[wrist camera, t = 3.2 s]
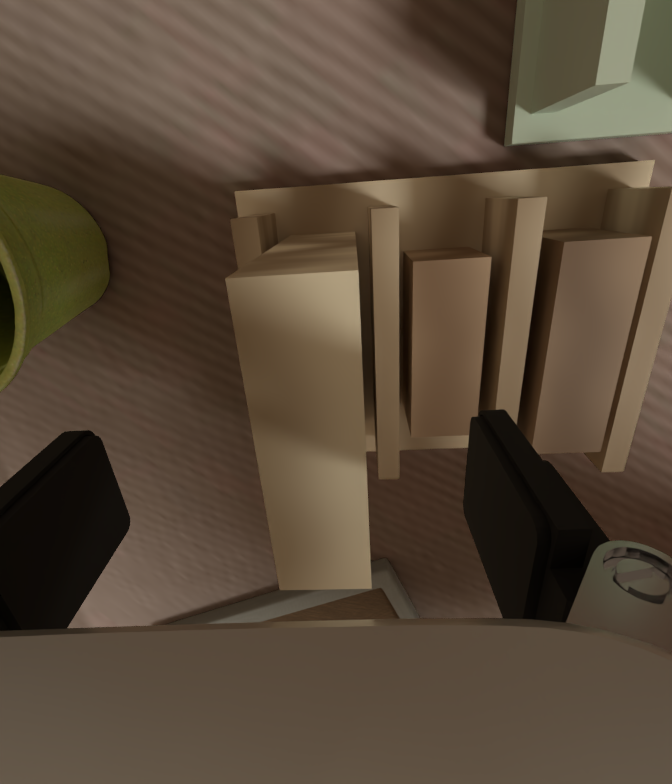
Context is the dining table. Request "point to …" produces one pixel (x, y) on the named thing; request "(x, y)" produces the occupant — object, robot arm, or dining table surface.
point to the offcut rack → (507, 275)
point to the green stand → (590, 70)
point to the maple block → (307, 405)
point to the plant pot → (43, 267)
